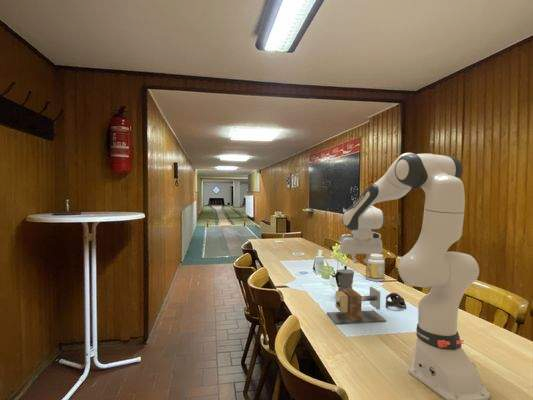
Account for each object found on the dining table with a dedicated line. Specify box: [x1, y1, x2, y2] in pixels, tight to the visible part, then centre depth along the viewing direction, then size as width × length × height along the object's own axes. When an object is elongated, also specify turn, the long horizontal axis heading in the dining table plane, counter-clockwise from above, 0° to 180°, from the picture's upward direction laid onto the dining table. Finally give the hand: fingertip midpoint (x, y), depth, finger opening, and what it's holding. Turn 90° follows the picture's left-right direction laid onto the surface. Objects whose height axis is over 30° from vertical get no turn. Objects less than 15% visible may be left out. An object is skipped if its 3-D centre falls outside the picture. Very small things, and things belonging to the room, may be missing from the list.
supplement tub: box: [365, 253, 386, 282], centre depth 210 cm, size 12×12×17 cm
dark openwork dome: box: [385, 292, 407, 310], centre depth 158 cm, size 12×10×8 cm
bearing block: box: [326, 288, 387, 325], centre depth 143 cm, size 24×12×12 cm, turn 97°
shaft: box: [334, 286, 381, 310], centre depth 143 cm, size 20×8×8 cm, turn 97°
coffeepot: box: [334, 265, 355, 292], centre depth 171 cm, size 15×9×18 cm, turn 129°
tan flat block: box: [335, 290, 348, 313], centre depth 142 cm, size 3×7×7 cm, turn 7°
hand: (360, 263), depth 146 cm, fingers open, 4 cm apart
